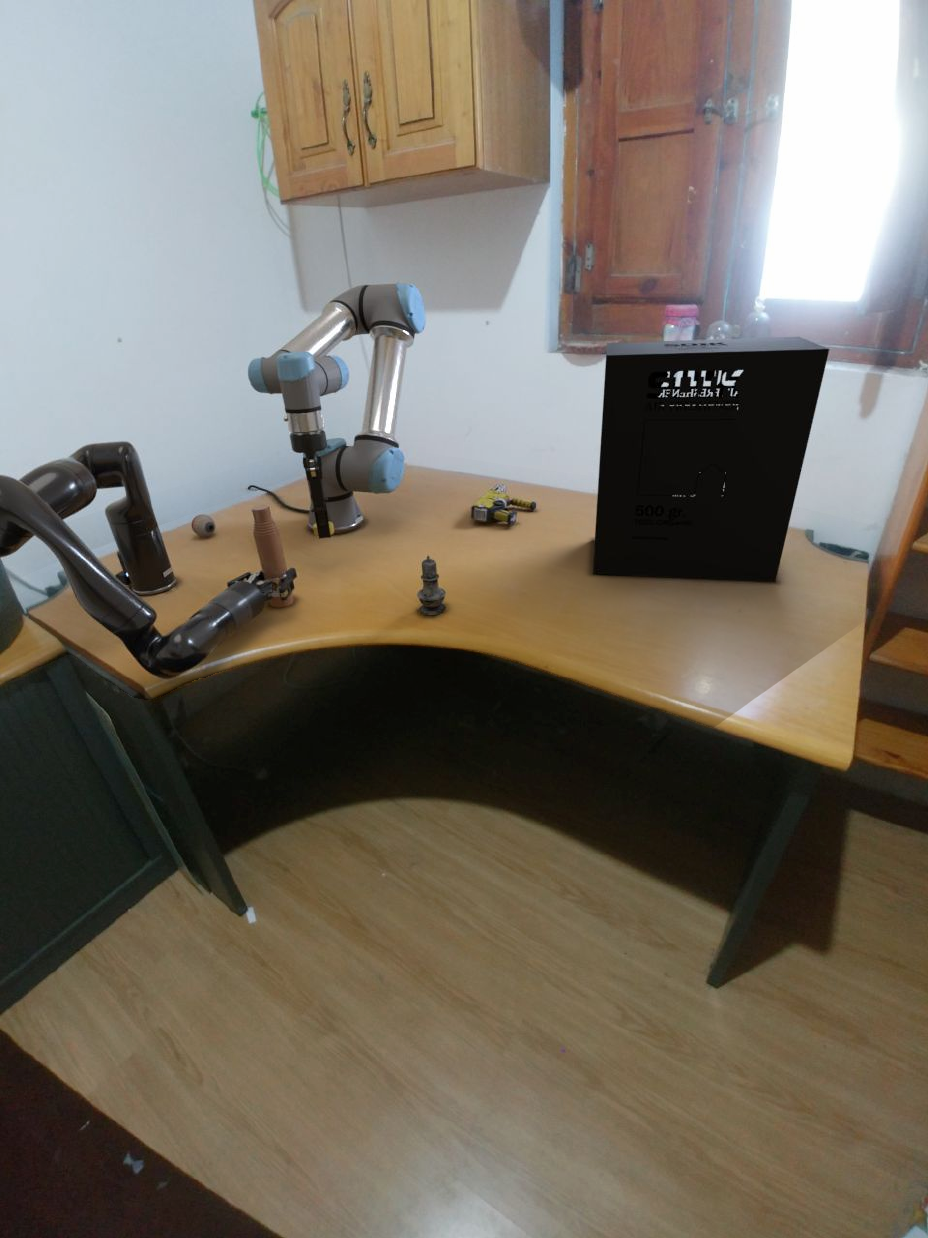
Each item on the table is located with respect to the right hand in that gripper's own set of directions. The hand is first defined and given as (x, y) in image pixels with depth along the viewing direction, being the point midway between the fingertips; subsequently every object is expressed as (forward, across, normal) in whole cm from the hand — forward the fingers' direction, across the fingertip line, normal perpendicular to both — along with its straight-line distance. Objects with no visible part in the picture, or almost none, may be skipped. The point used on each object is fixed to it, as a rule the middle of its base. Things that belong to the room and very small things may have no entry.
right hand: (324, 533), depth 140 cm
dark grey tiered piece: (+9, +28, +20) cm, 36 cm away
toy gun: (+8, -21, +51) cm, 56 cm away
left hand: (+3, +12, -10) cm, 16 cm away
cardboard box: (+9, +22, +78) cm, 82 cm away
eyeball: (+9, -33, -33) cm, 47 cm away
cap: (-2, 0, 0) cm, 2 cm away
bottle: (+9, +15, -11) cm, 20 cm away
